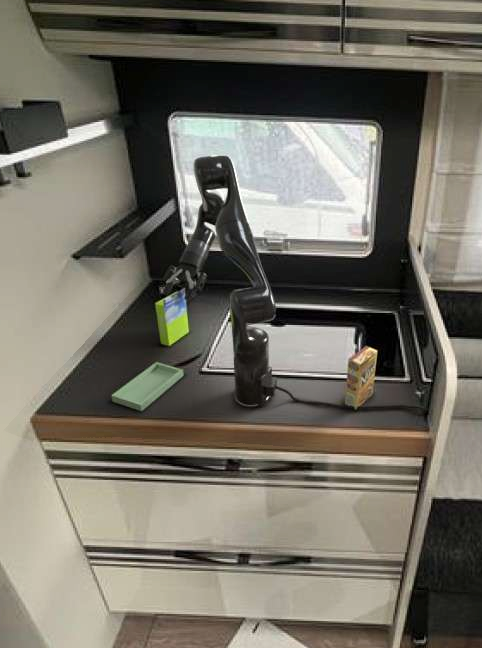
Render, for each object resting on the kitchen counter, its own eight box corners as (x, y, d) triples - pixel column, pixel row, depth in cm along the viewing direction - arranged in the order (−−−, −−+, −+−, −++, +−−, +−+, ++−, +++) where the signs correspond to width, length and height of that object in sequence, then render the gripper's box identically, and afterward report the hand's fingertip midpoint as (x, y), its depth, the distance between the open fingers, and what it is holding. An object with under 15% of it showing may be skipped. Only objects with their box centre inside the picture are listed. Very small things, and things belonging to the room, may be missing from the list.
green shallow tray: (183, 375, 118) (183, 369, 117) (141, 411, 104) (140, 405, 103) (157, 367, 121) (156, 361, 120) (112, 401, 106) (111, 395, 105)
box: (180, 329, 141) (175, 285, 134) (190, 332, 140) (186, 287, 133) (159, 344, 132) (152, 297, 125) (169, 347, 131) (163, 300, 124)
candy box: (356, 410, 110) (361, 364, 103) (343, 404, 112) (347, 358, 105) (372, 394, 116) (378, 350, 110) (360, 388, 118) (365, 344, 112)
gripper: (172, 246, 136) (151, 289, 131) (207, 253, 132) (188, 298, 127) (183, 256, 143) (164, 297, 137) (218, 263, 139) (199, 306, 134)
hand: (176, 297), depth 132 cm, fingers open, 8 cm apart
